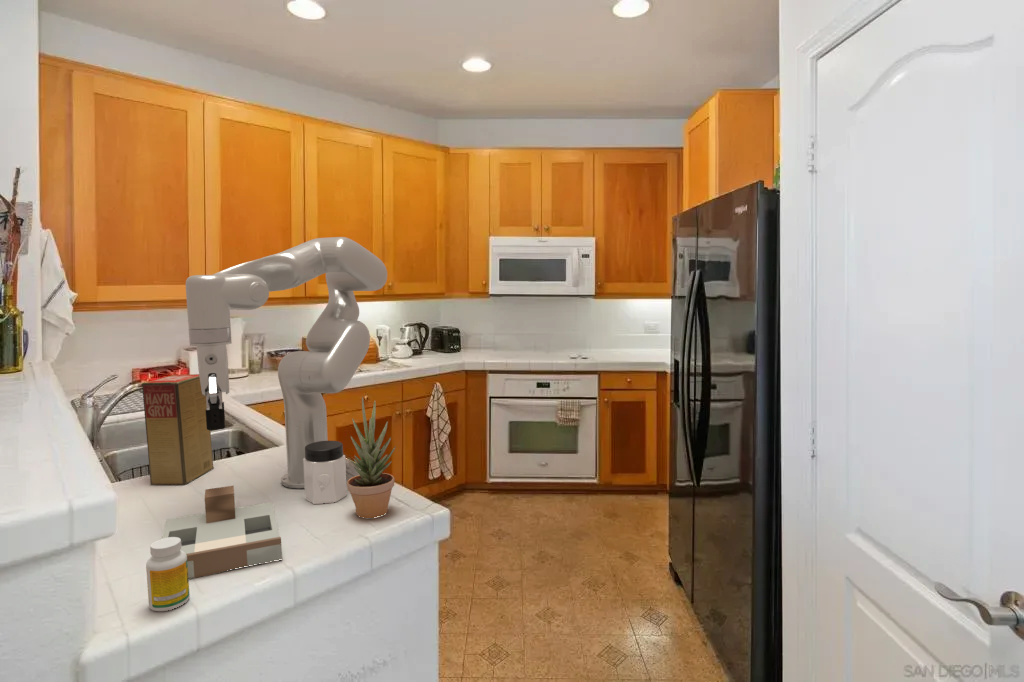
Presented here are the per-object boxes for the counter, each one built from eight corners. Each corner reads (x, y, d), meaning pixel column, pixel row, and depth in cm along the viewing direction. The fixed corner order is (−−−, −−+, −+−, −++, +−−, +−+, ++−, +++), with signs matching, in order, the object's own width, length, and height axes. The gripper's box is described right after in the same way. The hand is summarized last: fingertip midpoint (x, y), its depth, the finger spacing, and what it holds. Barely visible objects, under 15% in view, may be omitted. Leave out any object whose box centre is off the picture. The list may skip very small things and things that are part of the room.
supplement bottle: (143, 605, 90) (138, 544, 89) (180, 590, 94) (175, 531, 93) (159, 616, 87) (154, 553, 86) (196, 600, 91) (192, 540, 90)
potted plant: (374, 501, 131) (369, 390, 129) (404, 510, 126) (401, 395, 123) (336, 516, 123) (331, 398, 120) (368, 527, 118) (363, 403, 115)
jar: (303, 506, 129) (300, 452, 128) (307, 493, 137) (304, 442, 136) (346, 502, 131) (343, 448, 130) (347, 489, 139) (345, 439, 138)
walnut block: (235, 509, 119) (233, 485, 119) (235, 518, 115) (233, 493, 114) (207, 514, 117) (205, 489, 117) (206, 523, 113) (204, 497, 112)
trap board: (273, 516, 124) (272, 497, 123) (282, 560, 104) (280, 538, 103) (167, 533, 115) (166, 513, 115) (155, 585, 96) (153, 561, 95)
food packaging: (180, 468, 157) (173, 373, 154) (215, 468, 156) (209, 373, 154) (147, 485, 143) (139, 382, 141) (186, 485, 143) (178, 382, 140)
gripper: (231, 339, 113) (237, 432, 115) (230, 332, 129) (235, 414, 131) (186, 342, 110) (193, 437, 112) (191, 334, 125) (197, 418, 127)
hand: (216, 424), depth 121 cm, fingers open, 6 cm apart
